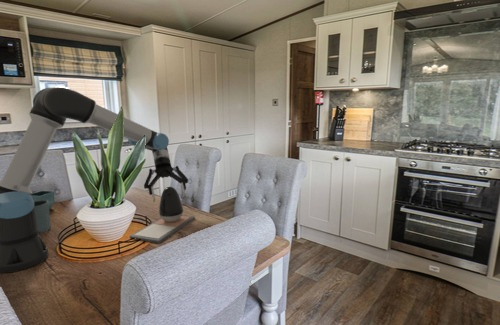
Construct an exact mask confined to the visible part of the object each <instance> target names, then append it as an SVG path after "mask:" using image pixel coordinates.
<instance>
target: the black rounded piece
mask: <svg viewBox="0 0 500 325" xmlns="http://www.w3.org/2000/svg"><path fill="white" fill-rule="evenodd" d="M158 213H159V214H158V215H159V216H160V218H162V219H163V220H164V221H166V222H175V221H177V220H179V219H180V218H181V216H182V215H183V213H184V207H183V204H182V200H181V198H180V195H179V193H178V191H177V190H176V189H175V187H172V186H167V187H164V189H163V191H162V193H161V196H160V201H159V208H158Z"/></svg>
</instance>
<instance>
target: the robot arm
mask: <svg viewBox="0 0 500 325" xmlns="http://www.w3.org/2000/svg"><path fill="white" fill-rule="evenodd" d="M28 115H29V117H30V119H31V120H30V123H29V124H28V127H27V128H26V131H25V133H24V135H23V137H22V139H21V141H20V142H19V145H18V147H17V149H16V150H15V153H14V155H13V157H12V159H11V161H10V163H9V164H8V167H7V168H6V171H5V174H4V175H3V177H2V179H1V180H0V273H4V274H5V273H14V272H19V271H23V270H27V269H29V268H32V267H34V266H37V265H39V264H40V263H42V262H44V261H45V260H46V259H47V258H48V257H49V250H48V247H47V245H46V244H45V242H44V241H43V239H42V237H41V236H40V233H39V232H38V226H37V220H36V214H35V208H34V201H33V198H32V196H31V194H33V192H32V190H31V188H30V187H31V185H32V182H33V181H34V178H35V176H36V174H37V172H38V170H39V168H40V167H41V166H40V165H41V163H42V161H43V159H44V157H45V155H46V154H47V151H48V149H49V146H50V144H51V142H52V140H53V138H54V137H55V134H56V132H57V130H58V129H62V128H63V127H64V125H65V123H66V121H67V119H68V120H74V121H78V122H80V123H82V124H87V123H89V124H92V125H95V126H97V127H99V128H102V129H104V130H106V131H109V132H111V131H110V130H111V128H112V126H113V124H114V122H115V119H116V117H117V116H118V115H119V114H118V113H116V112H114V111H112V110H109V109H107V108H105V107H103V106H101V105H99V104H97V102H96V101H95V100H94V99H92V98H91V97H88V96H86V95H84V94H83V93H81V92H79V91H77V90H74V89H72V88H70V87H66V86H53V87H46V88H42V89H41V90H38V92H37V93H36V94H35V95H34V97H33V100H32V106H31V109H30V111H29V113H28ZM123 117H124V138H126V139H127V142H128V143H129V145H132V146H134V147H136V146H135V145H136V143H137V142H138V141H139V140H140V139H141V138H142V137H143V136H144V135H145V134H146V145H145V148H144V149H145V150H147V151H151V152H152V156H153V157H152V158H153V162H154V168H155V169H152V168H149V170H148V174H147V177H146V178H145V182H144V184H143V188H144V189H145V190H146V189H147V190H148V193H149V195H150V196H151V197H152V202H153V203H154V202H156V196H155V190H154V186H155V185H156V183H157V182H158V180H160V178H163V179H164V178H169V177H170V178H171V179H174V180H175V181H176V182H177V183H179V184H180V189H181V193H182V197H183V198H185V197H186V192H185V191H186V190H187V186H186V185H187V184H188V183H189V179H188V178H187V176H186V175H185V174H184V173H183V172H182V171H181V169H180V167H179V166H178V165H175V167H172V164H171V163H172V162H171V160H170V159H171V158H170V154H169V149H168V146H169V143H170V140H169V137H168V136H167V134H165V133H162V132H157V131H155V130H152V129H150V128H148V127H146V126H143V125H142V124H140V123H137V122H135V121H133V120H131V119H129V118H127V117H125V116H123ZM154 174H156V175H155V177H153V176H152V175H154ZM152 177H153V179H152ZM151 179H152V180H151Z"/></svg>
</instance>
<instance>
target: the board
mask: <svg viewBox="0 0 500 325" xmlns="http://www.w3.org/2000/svg"><path fill="white" fill-rule="evenodd" d="M194 220H196V216H193V215H185V214H182V216H181V218H180V219H179V220H177V221H175V222H166V221H164V220H163V219H162V218H161V217H160V218H158V219H157V220H156V221H153V222H151V223H150V224H148V225H147V226H145V227H143V228H141V229H140V230H139V229H138V231H136V232H134V233H133V234H130V235H129V239H130V238H136V239H142V240H141V241H142V242H150V243H155V244H160V243H162V242H163V241H165V240H166V239H168V238H169V237H171V235H173V234H175V233H176V232H178V231H180V229H182V228H184V226H186V225H188V224H189V223H191V222H192V221H194ZM136 239H135V240H136Z"/></svg>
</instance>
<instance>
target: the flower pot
mask: <svg viewBox="0 0 500 325" xmlns="http://www.w3.org/2000/svg"><path fill="white" fill-rule="evenodd" d="M31 196H32V198H33V201H37V200H48V202H49V210H50V209H52V207H54V206H53V205H54V203H55V191H54V190H53V191H51V190H40V191H36V192H32V194H31Z"/></svg>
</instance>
